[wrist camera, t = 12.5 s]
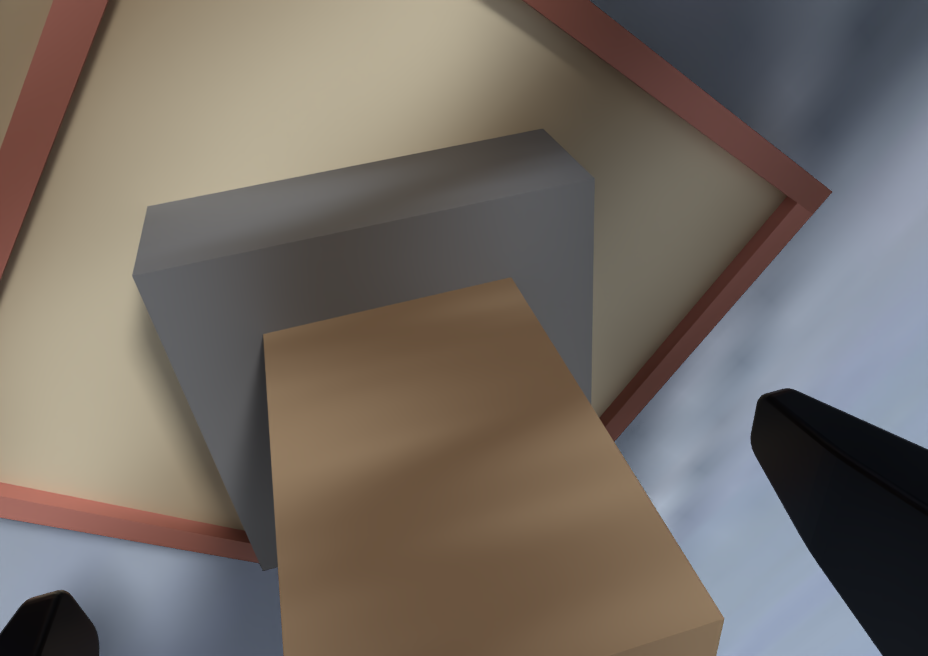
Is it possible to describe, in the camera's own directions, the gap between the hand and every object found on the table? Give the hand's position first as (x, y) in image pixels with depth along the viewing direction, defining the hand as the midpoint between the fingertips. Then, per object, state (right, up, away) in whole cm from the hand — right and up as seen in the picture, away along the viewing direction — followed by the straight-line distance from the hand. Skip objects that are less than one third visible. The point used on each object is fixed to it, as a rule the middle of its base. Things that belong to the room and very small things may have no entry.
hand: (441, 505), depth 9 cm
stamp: (-1, +2, +3) cm, 4 cm away
